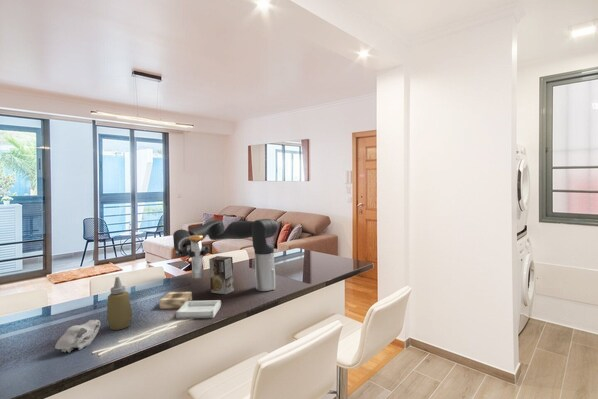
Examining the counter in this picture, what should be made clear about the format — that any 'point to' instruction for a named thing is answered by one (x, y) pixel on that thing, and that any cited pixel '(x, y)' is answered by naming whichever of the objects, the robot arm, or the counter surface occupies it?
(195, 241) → the pin
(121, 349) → the counter surface
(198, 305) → the tray
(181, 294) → the socket block
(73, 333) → the skull
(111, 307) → the squeeze bottle
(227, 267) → the coffee box
